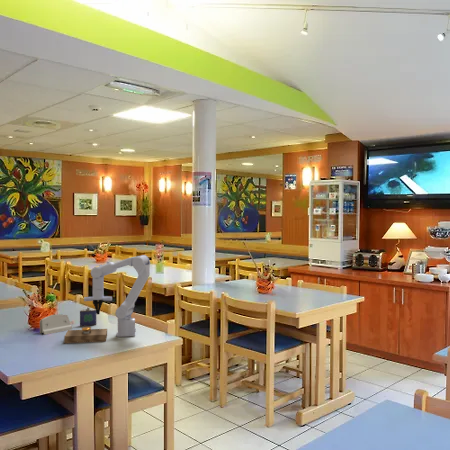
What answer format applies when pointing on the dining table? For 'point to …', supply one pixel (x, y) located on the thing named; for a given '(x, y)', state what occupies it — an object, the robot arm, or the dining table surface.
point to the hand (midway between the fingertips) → (98, 314)
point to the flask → (88, 317)
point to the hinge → (55, 324)
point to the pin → (86, 330)
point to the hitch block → (85, 336)
